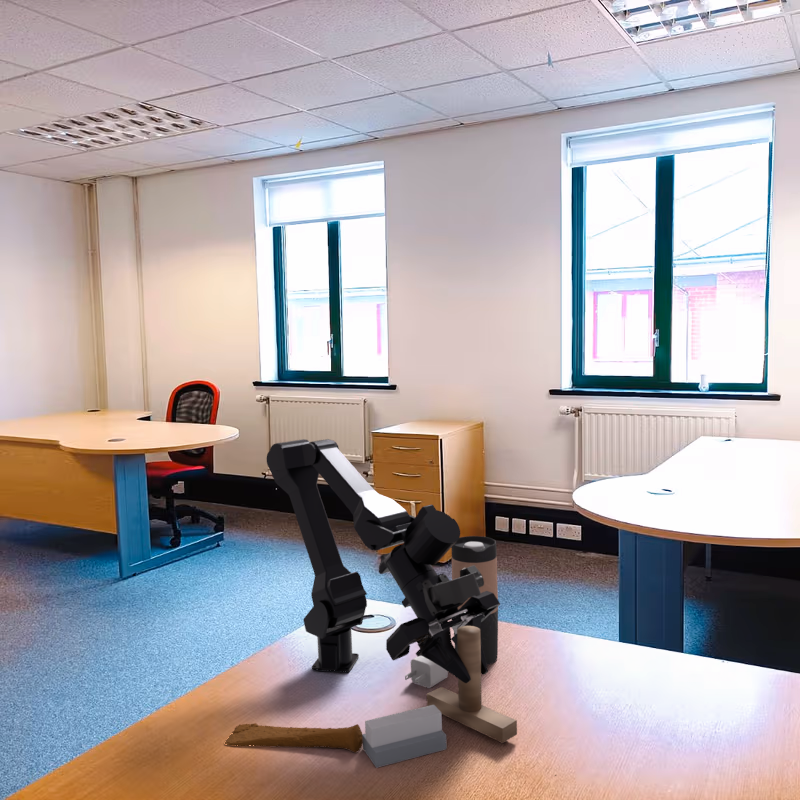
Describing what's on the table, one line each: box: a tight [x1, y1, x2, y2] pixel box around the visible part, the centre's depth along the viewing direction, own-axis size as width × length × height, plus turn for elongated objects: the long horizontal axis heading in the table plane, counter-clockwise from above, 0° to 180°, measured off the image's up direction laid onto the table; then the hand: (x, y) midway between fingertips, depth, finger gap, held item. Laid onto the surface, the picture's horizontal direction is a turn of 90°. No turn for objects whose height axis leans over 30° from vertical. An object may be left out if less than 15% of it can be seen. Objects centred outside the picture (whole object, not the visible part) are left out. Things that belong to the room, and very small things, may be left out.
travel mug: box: [451, 535, 499, 666], centre depth 130 cm, size 8×8×20 cm
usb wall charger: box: [404, 656, 449, 689], centre depth 122 cm, size 4×7×4 cm, turn 140°
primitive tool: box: [224, 722, 363, 753], centre depth 106 cm, size 19×6×4 cm, turn 79°
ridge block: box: [362, 705, 448, 768], centre depth 103 cm, size 10×5×4 cm, turn 113°
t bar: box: [426, 626, 518, 744], centre depth 107 cm, size 14×3×13 cm, turn 43°
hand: (477, 677), depth 106 cm, fingers closed on t bar, 3 cm apart
